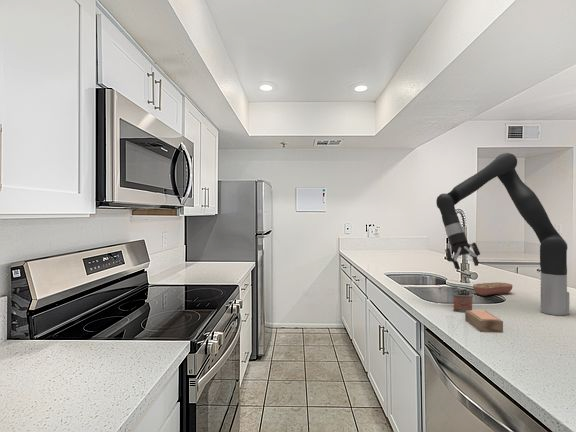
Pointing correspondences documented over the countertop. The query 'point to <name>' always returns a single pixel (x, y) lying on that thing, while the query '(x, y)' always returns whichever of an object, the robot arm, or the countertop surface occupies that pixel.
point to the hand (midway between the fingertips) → (467, 267)
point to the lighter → (462, 300)
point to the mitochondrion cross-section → (492, 288)
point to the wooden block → (484, 321)
